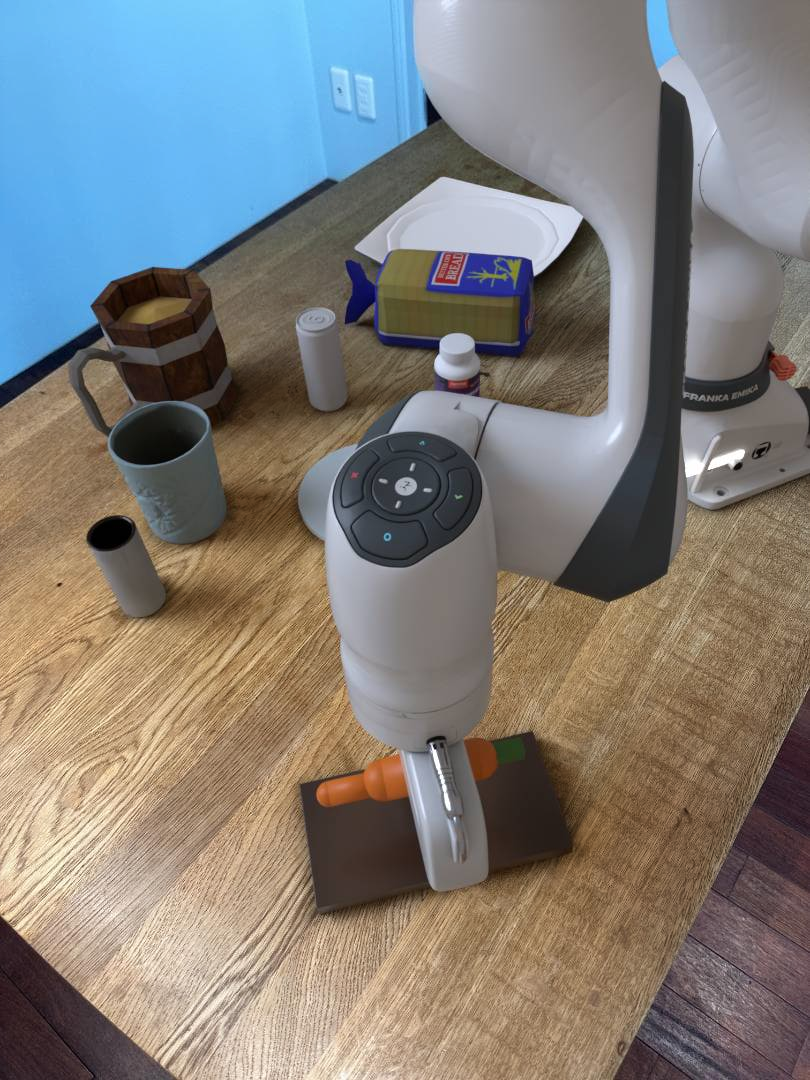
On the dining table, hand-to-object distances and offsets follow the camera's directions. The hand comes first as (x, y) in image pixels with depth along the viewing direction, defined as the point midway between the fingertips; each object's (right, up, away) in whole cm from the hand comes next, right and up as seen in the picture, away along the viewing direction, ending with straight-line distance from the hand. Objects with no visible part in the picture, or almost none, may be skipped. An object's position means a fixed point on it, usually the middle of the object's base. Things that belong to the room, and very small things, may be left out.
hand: (425, 774), depth 59 cm
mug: (-31, +32, +42) cm, 62 cm away
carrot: (0, -1, +1) cm, 1 cm away
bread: (+3, +45, +51) cm, 68 cm away
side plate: (-5, +22, +31) cm, 38 cm away
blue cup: (-25, +20, +31) cm, 44 cm away
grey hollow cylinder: (-28, +11, +23) cm, 38 cm away
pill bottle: (+5, +33, +40) cm, 52 cm away
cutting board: (+1, -6, +6) cm, 9 cm away
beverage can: (-11, +34, +42) cm, 56 cm away
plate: (+9, +62, +65) cm, 91 cm away
